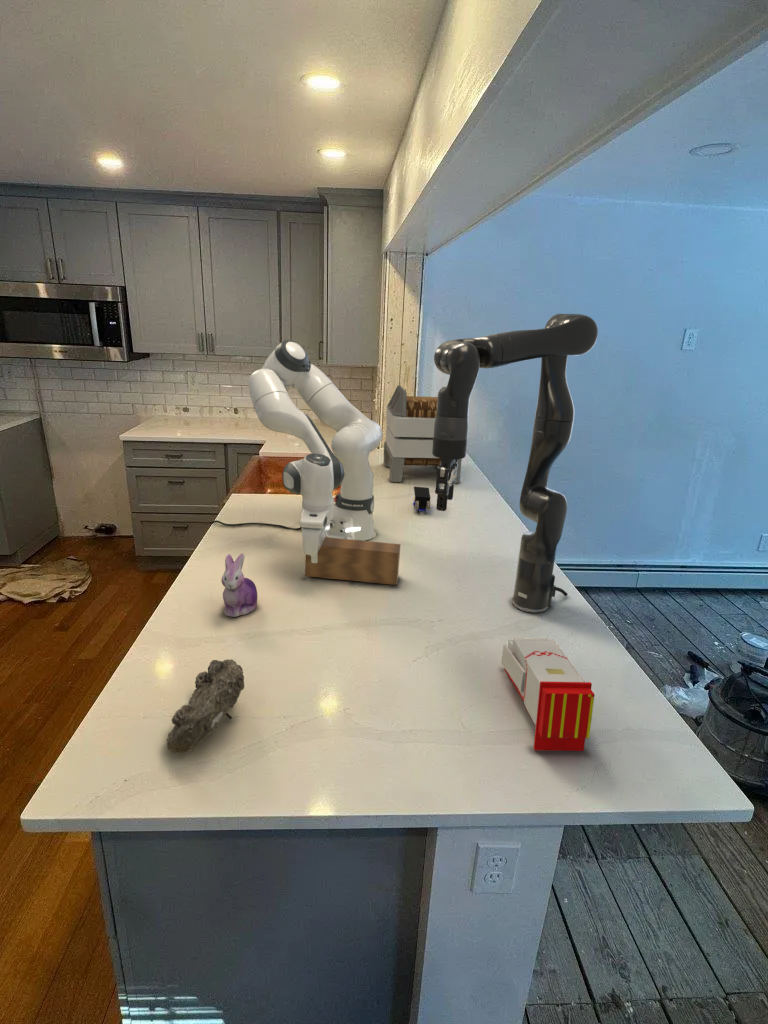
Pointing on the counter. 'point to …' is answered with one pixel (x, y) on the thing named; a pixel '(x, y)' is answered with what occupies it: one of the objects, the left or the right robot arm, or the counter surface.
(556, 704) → the toy
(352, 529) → the left robot arm
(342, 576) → the box
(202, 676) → the fossil
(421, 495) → the figurine character
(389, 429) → the grey boxy stand
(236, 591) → the figurine
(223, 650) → the counter surface
